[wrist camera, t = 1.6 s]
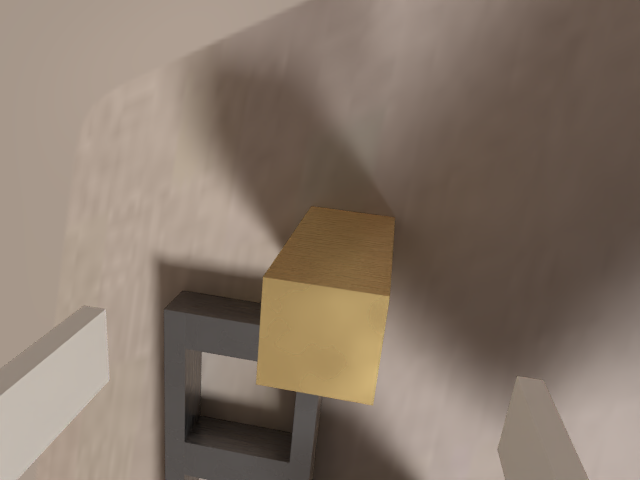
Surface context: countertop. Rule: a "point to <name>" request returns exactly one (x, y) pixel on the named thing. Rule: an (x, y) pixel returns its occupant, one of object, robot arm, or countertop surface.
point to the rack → (214, 434)
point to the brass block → (327, 306)
